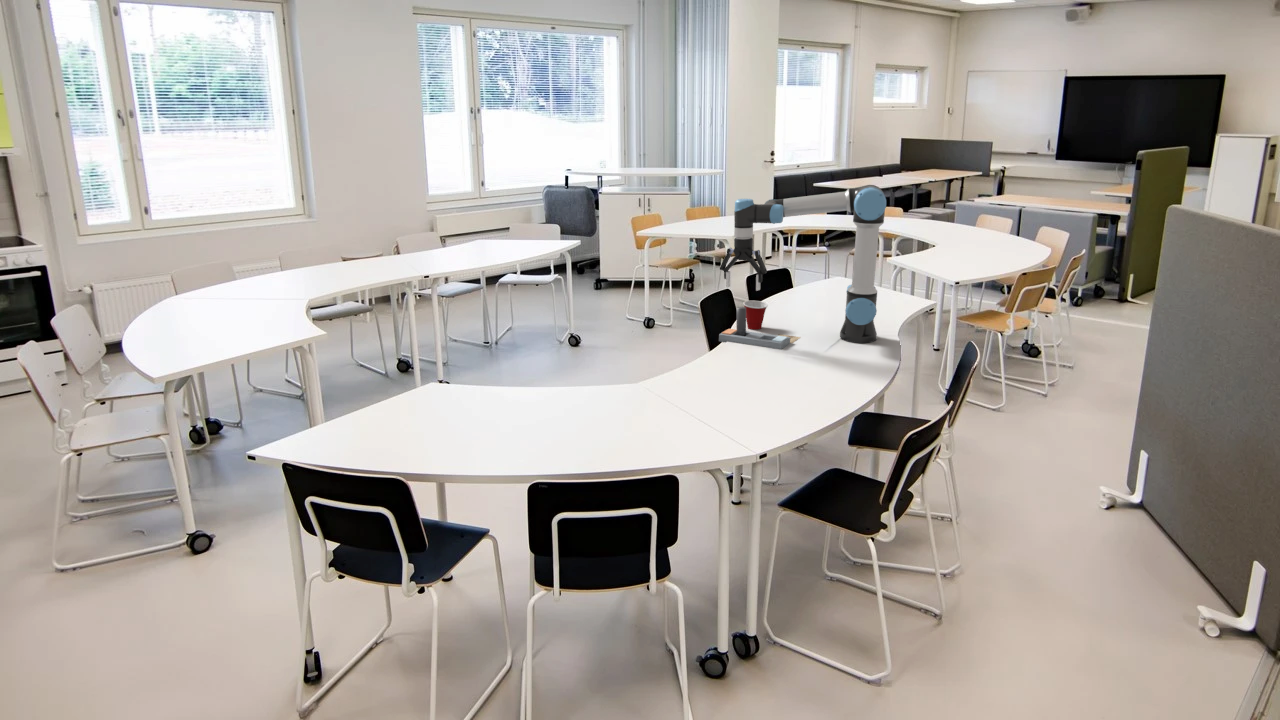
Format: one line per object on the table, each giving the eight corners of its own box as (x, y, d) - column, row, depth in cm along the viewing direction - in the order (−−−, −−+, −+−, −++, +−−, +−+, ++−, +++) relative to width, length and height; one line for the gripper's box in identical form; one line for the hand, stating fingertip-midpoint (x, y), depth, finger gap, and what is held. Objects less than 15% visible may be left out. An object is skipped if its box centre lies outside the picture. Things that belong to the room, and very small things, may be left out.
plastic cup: (758, 334, 359) (759, 307, 355) (737, 330, 365) (738, 303, 362) (771, 328, 367) (772, 302, 363) (751, 324, 373) (751, 298, 369)
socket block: (790, 344, 344) (790, 336, 343) (780, 350, 336) (781, 342, 334) (729, 335, 357) (729, 327, 356) (718, 341, 349) (719, 333, 348)
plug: (747, 339, 350) (747, 307, 345) (743, 341, 347) (743, 309, 342) (738, 338, 352) (738, 306, 347) (734, 340, 349) (734, 308, 344)
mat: (800, 338, 351) (800, 337, 351) (792, 344, 343) (792, 343, 343) (778, 335, 356) (778, 334, 356) (769, 341, 348) (769, 339, 348)
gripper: (775, 238, 333) (774, 289, 339) (719, 234, 345) (719, 283, 352) (768, 241, 327) (767, 293, 333) (711, 237, 339) (711, 287, 346)
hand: (742, 288), depth 342 cm, fingers open, 13 cm apart
